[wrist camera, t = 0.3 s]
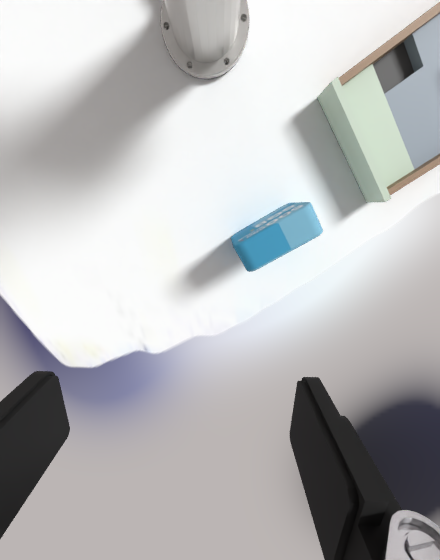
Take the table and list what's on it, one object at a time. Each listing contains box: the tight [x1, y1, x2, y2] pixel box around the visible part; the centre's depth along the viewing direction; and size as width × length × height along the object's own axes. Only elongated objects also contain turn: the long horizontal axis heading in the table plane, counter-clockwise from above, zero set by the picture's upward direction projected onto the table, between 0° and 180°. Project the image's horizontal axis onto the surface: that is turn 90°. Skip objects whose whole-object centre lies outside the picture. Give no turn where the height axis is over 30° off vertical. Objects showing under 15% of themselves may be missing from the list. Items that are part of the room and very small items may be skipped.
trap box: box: [317, 2, 440, 202], centre depth 35 cm, size 19×26×5 cm
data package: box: [231, 202, 323, 272], centre depth 38 cm, size 12×4×12 cm, turn 120°
